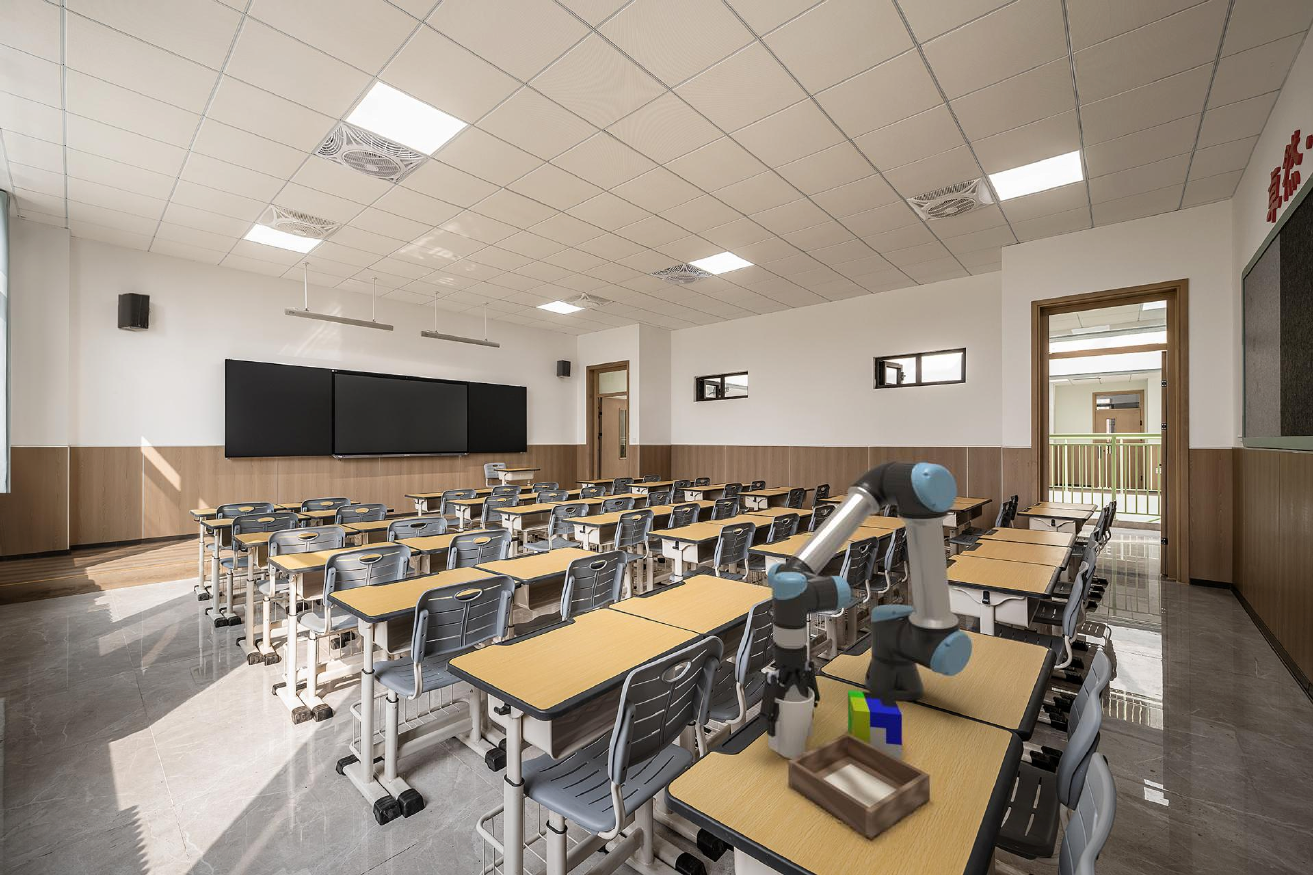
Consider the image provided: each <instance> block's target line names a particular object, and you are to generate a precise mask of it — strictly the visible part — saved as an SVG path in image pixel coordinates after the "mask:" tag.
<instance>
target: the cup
mask: <svg viewBox="0 0 1313 875" xmlns="http://www.w3.org/2000/svg"><path fill="white" fill-rule="evenodd" d="M780 685H781V686H783V687H784V686H785V685H782V684H781V683H780ZM808 688H809V687H808ZM814 696H815V695H814V692H813V691H812V689H810V688H809V691H808V698H806V697H804V696H802V695H801V694H800V693H799V691H798V689H797V687H796V685H793V686H791V687H790V689H789V692H787V693H786V695H785V698H784V701H782V700H779V699H777V698H775V701H774V702H776V703H779V711H780V713H779V716H778V718H777V720H778V721H779V722H780V752H778V754H779V755H780V756H782V757H784V758H787V759H790V760H792V759H794V758H796V757H798V756H800V755H802V754H804V753H806V745H807V744H806V743H807V738H808V735H807V734H808V730H809V726H810V722H811V719H812V713H813V714H814V708H815V707H814ZM772 715H773V714H772Z"/></svg>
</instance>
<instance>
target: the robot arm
mask: <svg viewBox="0 0 1313 875" xmlns="http://www.w3.org/2000/svg"><path fill="white" fill-rule="evenodd" d="M846 493H847V495H846V497H844V499H843V500H842V501H841V502H840V503H839V504H838V505H837V507H836V508H835V509H834V510H833V511H832V512H831V513H830V514H829V516H828V517H826V518H825V520H824V521H822V523H821V524H820V525H819V526H818V527H817V528H816V530H814V532H813V533H812V534H811V535H810V536H809V537H808V538H807V539H806V540H805V541H804V543H803V544H802V545H801V546H800V547H799V548H797V550H796V552H795V553H793V555H791V557H790V558H789V559H788V560H787V561H786V562H785V563H783V562H778V563H775V564H773V565H772V566H771V567H770V568H769V570H768V572H767V575H766V580H767V584H768V587H769V588H770V589H771V590H772V591H771V597H772V601H771V602H772V639H773V643H772V657H773V661H774V662H775V668H774V671H773V672H769V671H765V672H764V681H765V682H764V687H763V694H762V699H761V703H760V709H759V713H758V714H759V715H758V717H759V719H761V720H763V721H765V722H766V733H767V734H766V735H768V739H767V742H768V748H769V749H770V750H773V751H774V752H776V753H779V752H780V722H779V721H778V720H777V718H778V716H779V713H780V711H779V703H776V702H774V701H775V698H777V699H779V700H782V701H784V698H785V695H786V693H787V692H789V689H790V687H791V686H793V685H796V687H797V689H798V691H799V693H800V694H801V695H802V696H804V697H806V698H808V691H809V688H810V689H812V691H813V692H814V695H815V696H814V708H815V709H816V708H818V705H819V704H818V703H819V702H820V700H821V696H820V691H819V686H818V681H817V677H816V673H815V662H814V661H813V660H810V659H809V658H808V645H807V643H808V615H811V614H818V613H826V612H830V611H831V612H832V611H837V610H840V609H844V608H846V607H847V606H848V605H849V604H850V602H851V600H852V594H851V593H852V591H851V587H850V585H849V583H848V582H847V580H846V579H845V578H843V577H842V576H839V575H829V576H821V575H820V574H819V573H820V572H821V571H822V570H823V568H824V567H825V566H826V565H827V564H828V563H829V561H830V560H831V559H832V558H834V556H835V555H836V554H837V552H838V551H839V550H840V549H841V548H842V547H843V546H844V545H845V543H847V541H848V540H849V539H850V538H851V537H852V536H853V534H855V532H856V531H858V529H859V528H860V527H861V526H862V524H863V523H864V522H865V521H866V520H867V519H868V518H869V516H871V515H876V514H877V513H879V511H880V510H881V509H882V508H885V507H886V506H896V508H897V516H898V518H899V519H901V521H903V522H904V523H905V532H906V533H905V536H906V543H907V551H908V562H909V563H908V564H909V572H910V580H911V581H910V582H911V593H912V601H913V603H912V604H913V606H912V605H911V606H909V605H906V604H905V605H903V604H882V605H881V604H880V605H877V606H875V607H873V608H872V610H871V616H870V640H871V641H870V642H871V643H870V647H871V648H870V649H871V656H870V657H871V658H870V661H869V663H868V666H867V670H866V672H865V676H864V677H865V678H864V686H865V688H866V689H867V690H868V691H870V692H872V693H884V694H892V695H893V697H894V699H895V701H906V702H907V701H914V700H918V699H920V698H922V697H923V696H924V683H923V680H922V678H921V675H920V672H919V669H918V665H919V666H922V667H924V668H925V669H926V668H927V669H928V670H931V671H932V672H933V673H935V674H941V675H943V676H946V677H953V676H956V675H958V674H960V673H961V672H962V671H963V670H964V669H965V668H966V666H967V664H968V663H969V661H970V660H971V656H972V652H973V643H972V639H971V638H970V636H969V635H968V634H966V633H965V632H963V630H962V631H961V630H960V625H959V624H960V623H959V618H958V616H957V615H955V614H954V613H953V612H952V611H951V598H950V590H949V589H950V588H949V580H948V579H949V578H948V569H947V560H946V559H947V558H946V547H945V538H944V528H943V521H944V520H945V519H946V518H947V517H948V516H949V511H950V510H951V509H952V508H953V507H954V505H955V503H956V502H955V500H956V499H957V497H958V496H957V495H958V488H957V483H956V480H955V479H954V476H953V475H952V473H951V472H950V471H949V470H948V469H947V468H945V466H943V465H941V464H937V463H930V462H929V463H928V462H915V461H914V462H911V461H910V462H909V461H908V462H907V461H887V462H882V463H880V464H878V465H876V466H874V467H873V468H871V469H869V470H868V471H866V472H865V473H864V474H862V475H861V476H860V477H859V478H857V480H855V481H854V483H853V484H851V486H850V487H849V488H848V489H847V492H846ZM818 574H819V575H818ZM780 683H781V684H782V685H785V686H784V687H783V686H781V685H780ZM808 687H809V688H808ZM772 714H773V715H772ZM813 719H814V712H813V713H812V719H811V722H810V726H809V730H808V734H807V737H810V738H811V737H813V726H814V725H813V724H814V723H813Z"/></svg>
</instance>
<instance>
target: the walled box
mask: <svg viewBox="0 0 1313 875" xmlns="http://www.w3.org/2000/svg"><path fill="white" fill-rule="evenodd" d="M787 764H788V766H787V768H788V770H787V772H788V780H787V781H788V786H789V787H790V788H791V789H793V790H794V791H796V792H797V793H799V794H800V795H802V796H803V797H805V798H806V799H808V800H810V802H812V803H813V804H814V805H817V806H818V807H819V808H821V809H822V810H824V811H826V813H829V814H830V815H831V816H833V817H834V818H836V819H837V820H838V821H840V822H842V823H843V824H845V825H846V826H848V827H849V828H851V829H852V830H854V831H855V832H857V833H858V834H860V835H861V836H863V837H864V838H866V839H867V840H869V841H870V842H872V841H873V840H874V839H876V838H878V837H879V836H880V835H882V834H883V833H885V832H886V831H887V830H889V829H891V828H892V827H893V826H895V825H896V824H898V823H900V822H901V821H902V820H904V819H905V818H906V817H908V816H909V815H911V814H912V813H914V812H915V811H917V810H918V809H920V808H921V807H923V806H924V805H926V804H927V803H928V802H930V801H931V798H930V794H931V791H930V790H931V788H930V786H931V785H930V784H931V783H930V781H931V779H930V776H931V775H930V774H928V773H927V772H925V771H923V770H921V769H919V768H917V767H915V766H913V765H912V764H909V763H907V762H906V761H903V760H899V759H897V758H896V757H894V756H892V755H890V754H888V753H886V752H884V751H882V750H880V749H878V748H876V747H874V746H872V745H870V744H868V743H866V742H864V741H862V740H860V739H858V738H856V737H854V736H853V735H851V734H849V733H848V732H845V733H844V734H841V735H839V736H837V737H835V738H833V739H831V740H829V741H826V742H825V743H823V744H821V745H818V746H817V747H814V748H812V749H810V750H808V751H805V753H804V754H802V755H800V756H798V757H796V758H794V759H790V760H788V762H787Z"/></svg>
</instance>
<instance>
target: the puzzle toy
mask: <svg viewBox="0 0 1313 875" xmlns="http://www.w3.org/2000/svg"><path fill="white" fill-rule="evenodd" d="M896 701H897V700H895V699H894V697H893V695H892V694H884V693H873V692H871V691H870V692H868V691H855V690H847V733H849V734H851V735H853V736H854V737H856V738H858V739H860V740H862V741H864V742H866V743H868V744H870V745H872V746H874V747H876V748H878V749H880V750H882V751H884V752H886V753H888V754H890V755H892V756H894V757H896V758H897V759H899V760H901V761H903V715H902V712H901V710H900V708H899V706H898V704H897V702H896Z"/></svg>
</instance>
